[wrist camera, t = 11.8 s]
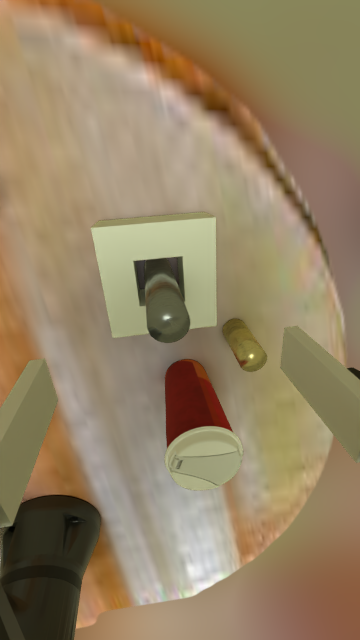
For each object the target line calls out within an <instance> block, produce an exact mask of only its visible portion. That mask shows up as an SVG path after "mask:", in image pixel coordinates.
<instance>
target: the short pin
mask: <svg viewBox="0 0 360 640" xmlns="http://www.w3.org/2000/svg"><path fill="white" fill-rule="evenodd" d="M223 334H224V336H225V338H226V340H227V342H228V344H229V345H230V347H231V349H232V351H233V353H234V355H235V357H236V359H237V360H238V362H239V364H240V366H241V368H242V369H243V370H245V371H248V372H253V371H256V370H259V369H260V368H262V367H263V366H264V364H265V363H266V360H267V355H266V353H265V352H264V350H263V349H262V347H261V346H260V345H259V343H258V342H257V340H256V339H255V337H254V336H253V335H252V333H251V332H250V330H249V329H248V328H247V326H246V325H245V323H244V322H243V321H242V320H240V319H231V320H229V321H228V322H226V323H225V325H224V327H223Z"/></svg>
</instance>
